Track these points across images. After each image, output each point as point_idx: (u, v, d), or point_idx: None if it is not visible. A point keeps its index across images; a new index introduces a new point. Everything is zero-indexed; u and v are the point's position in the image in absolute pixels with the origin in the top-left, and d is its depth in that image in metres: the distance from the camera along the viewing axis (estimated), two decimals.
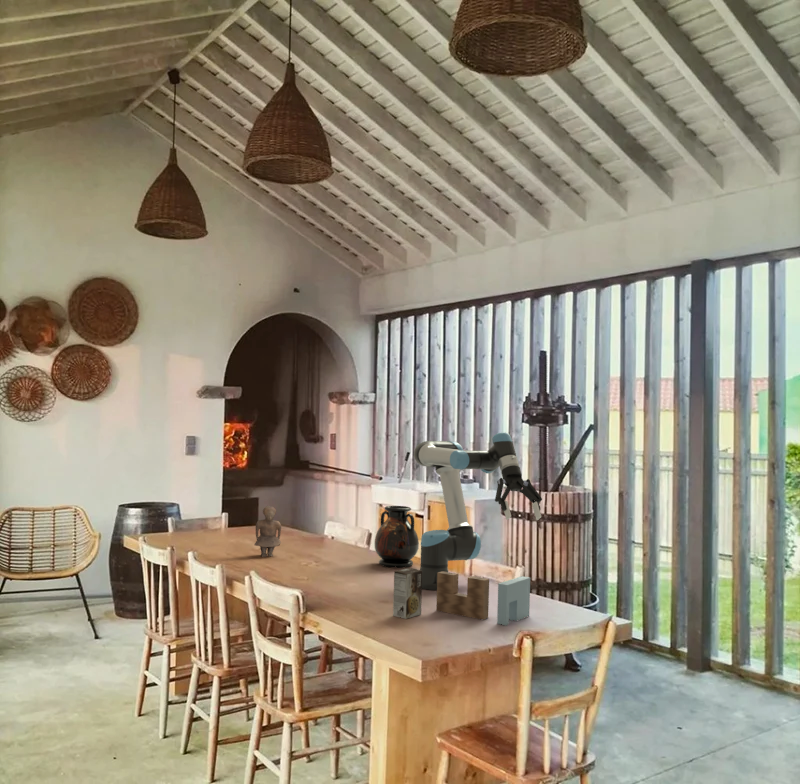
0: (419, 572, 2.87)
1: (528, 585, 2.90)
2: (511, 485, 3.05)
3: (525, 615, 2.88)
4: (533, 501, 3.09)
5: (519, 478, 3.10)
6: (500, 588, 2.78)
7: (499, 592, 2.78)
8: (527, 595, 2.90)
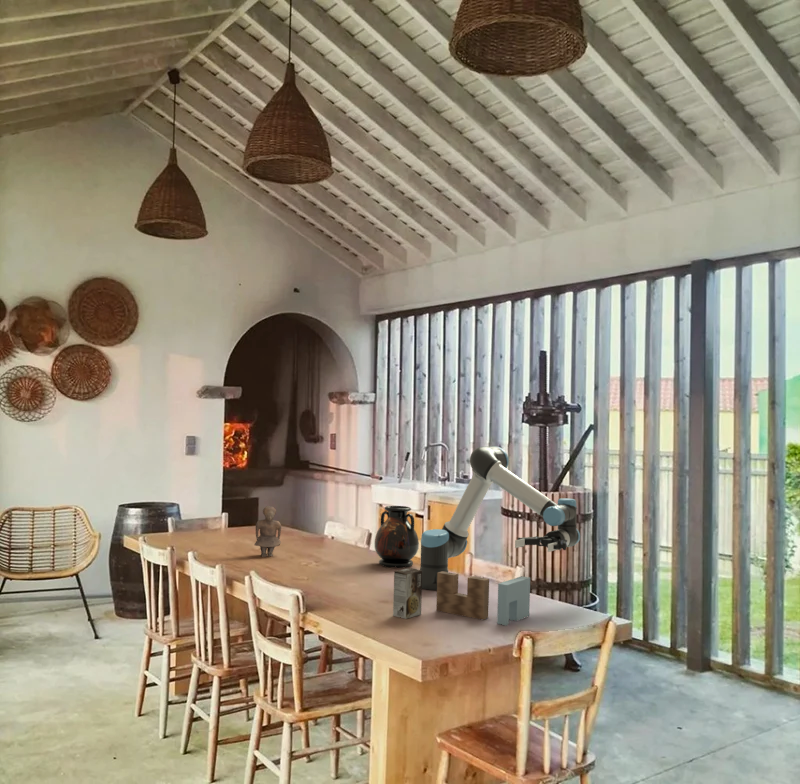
0: (419, 572, 2.87)
1: (528, 585, 2.90)
2: None
3: (525, 615, 2.88)
4: None
5: None
6: (500, 588, 2.78)
7: (499, 592, 2.78)
8: (527, 595, 2.90)
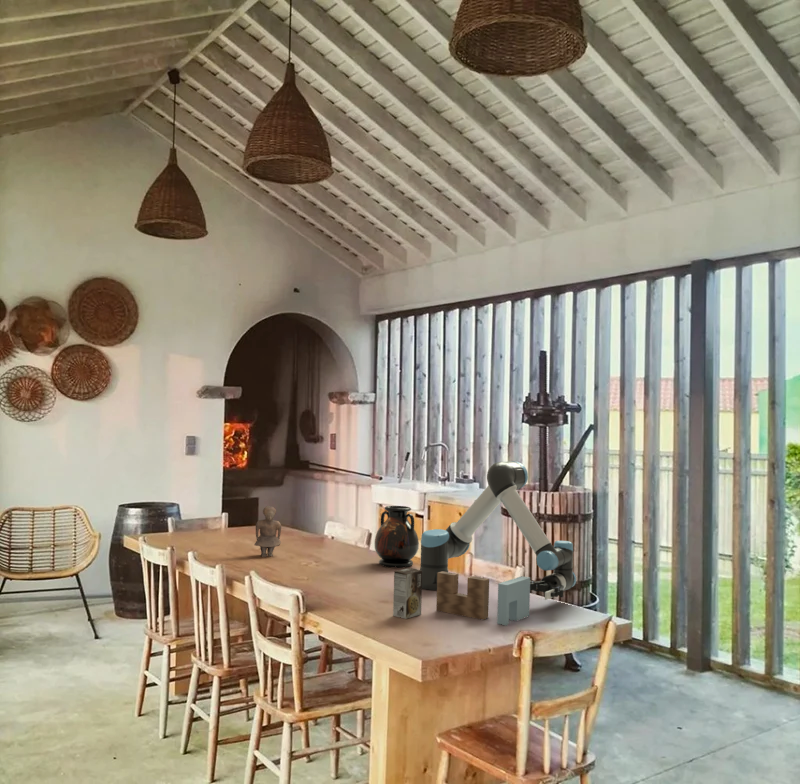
0: (419, 572, 2.87)
1: (528, 585, 2.90)
2: None
3: (525, 615, 2.88)
4: None
5: None
6: (500, 588, 2.78)
7: (499, 592, 2.78)
8: (527, 595, 2.90)
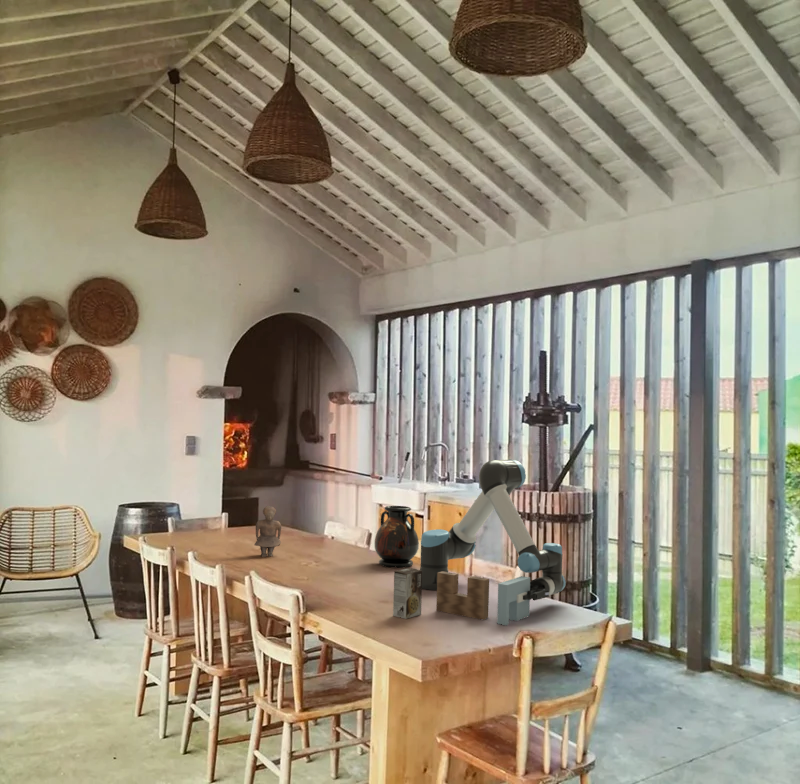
0: (419, 572, 2.87)
1: (528, 585, 2.90)
2: None
3: (525, 615, 2.88)
4: None
5: None
6: (500, 588, 2.78)
7: (499, 592, 2.78)
8: None
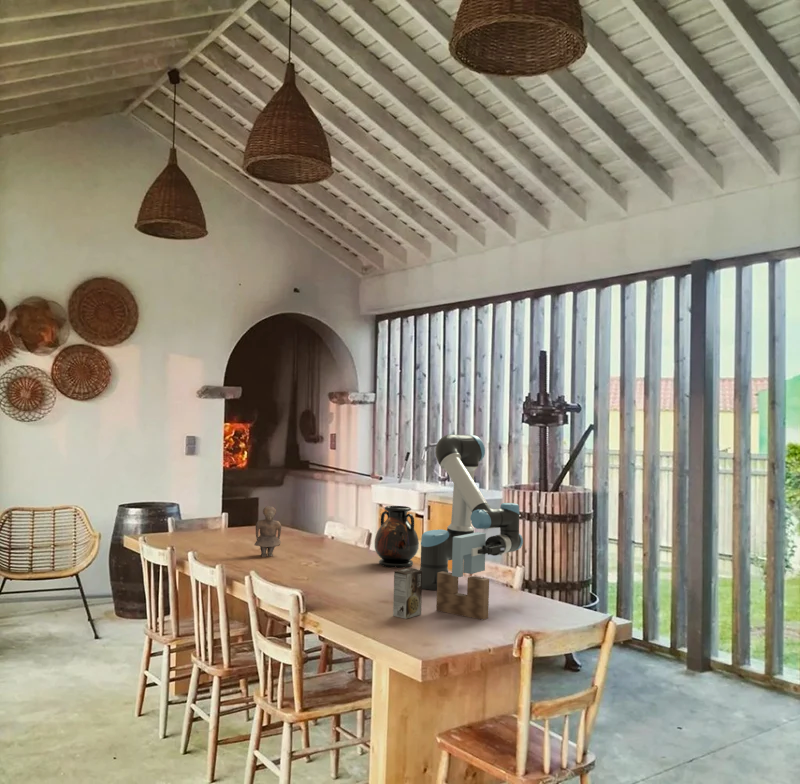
0: (419, 572, 2.87)
1: (483, 540, 3.00)
2: None
3: (480, 569, 2.98)
4: None
5: None
6: (454, 541, 2.88)
7: (453, 545, 2.88)
8: None
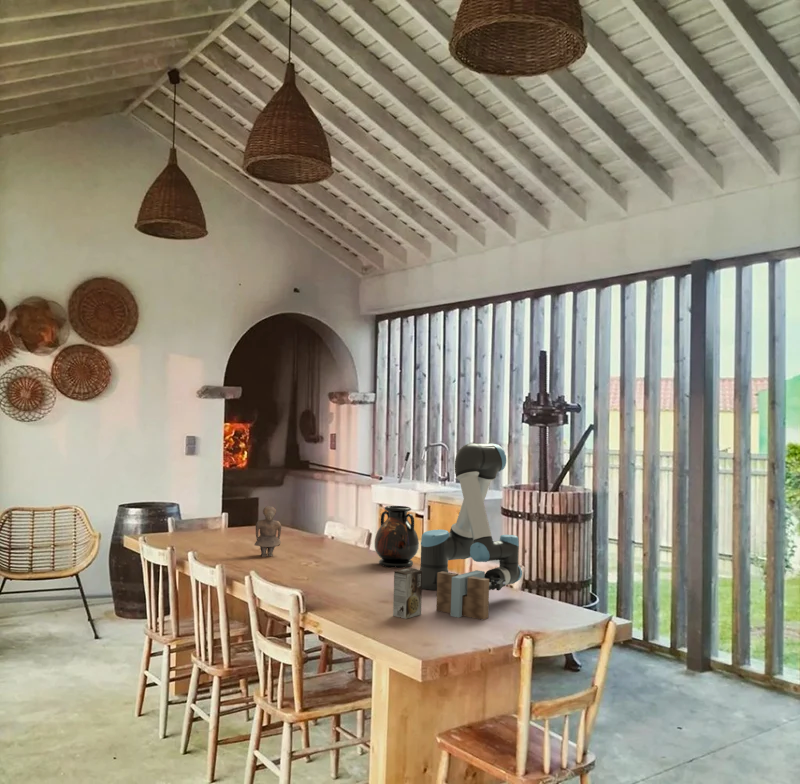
0: (419, 572, 2.87)
1: None
2: None
3: None
4: None
5: None
6: (453, 581, 2.87)
7: (452, 585, 2.87)
8: None
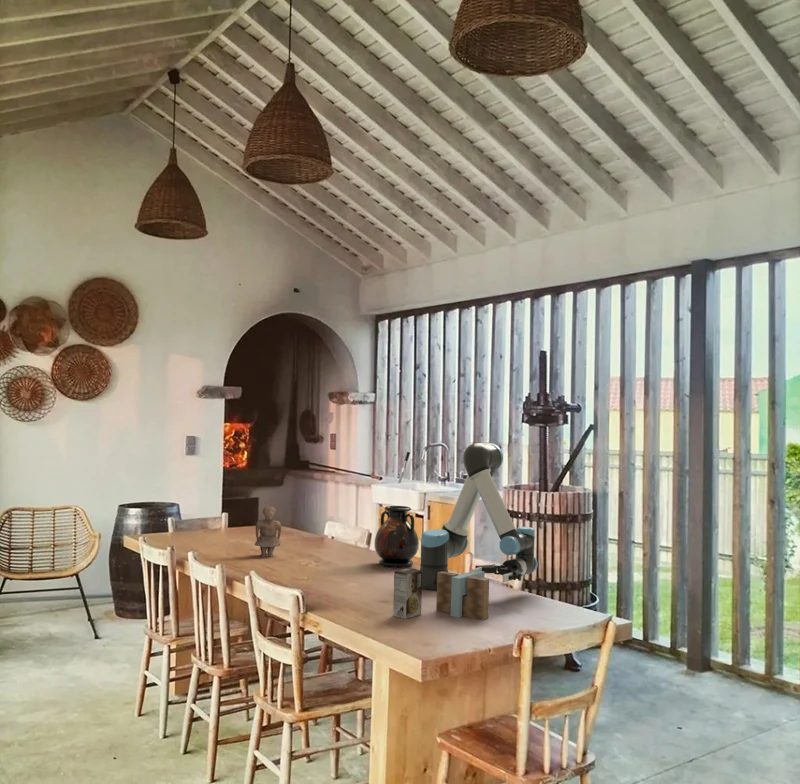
0: (419, 572, 2.87)
1: None
2: None
3: None
4: (481, 568, 3.15)
5: None
6: (453, 581, 2.87)
7: (452, 585, 2.87)
8: None
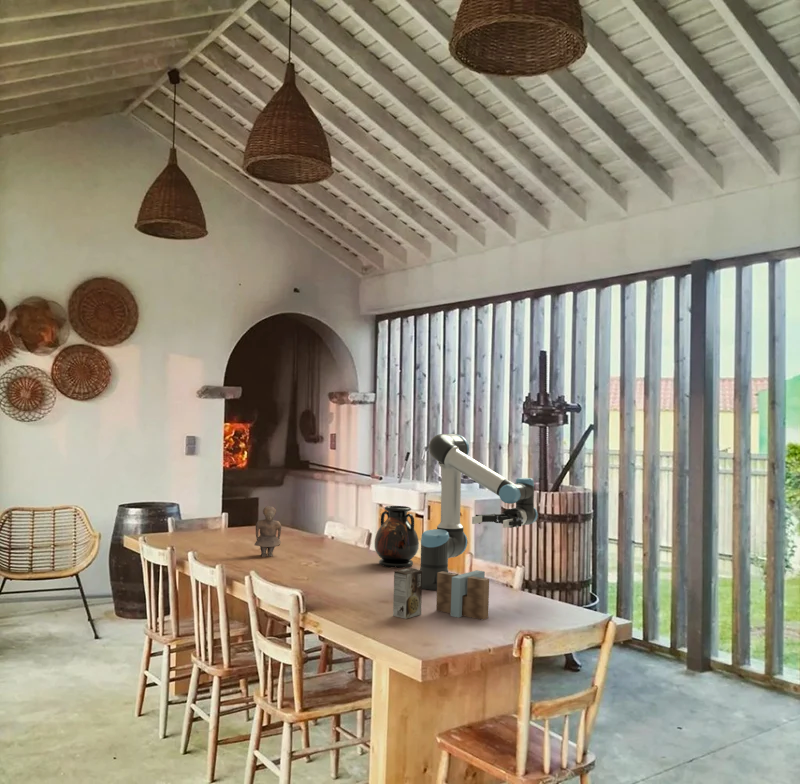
0: (419, 572, 2.87)
1: None
2: None
3: None
4: (481, 516, 3.16)
5: None
6: (453, 581, 2.87)
7: (452, 585, 2.87)
8: None
